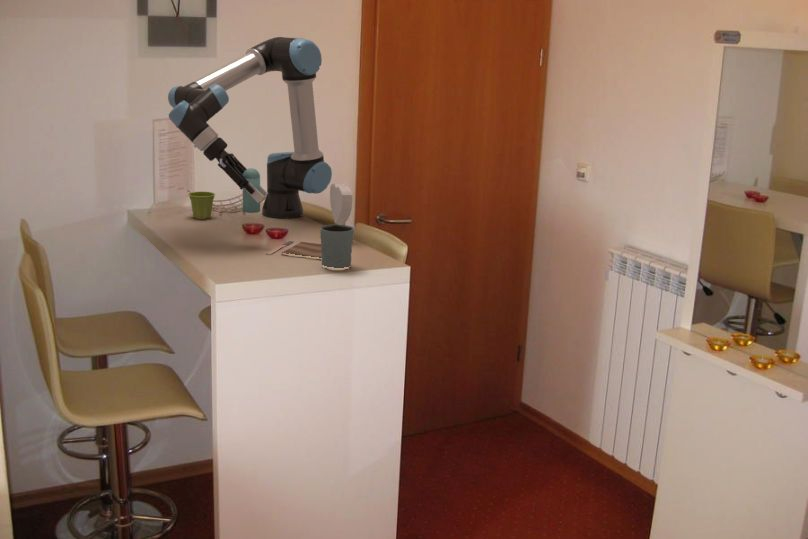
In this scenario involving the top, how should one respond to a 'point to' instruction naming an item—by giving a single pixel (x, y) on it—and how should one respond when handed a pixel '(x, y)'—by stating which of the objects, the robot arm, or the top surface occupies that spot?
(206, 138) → the robot arm
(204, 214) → the plant pot
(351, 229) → the grey textured cup
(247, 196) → the teal domed cylinder
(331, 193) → the heart sculpture
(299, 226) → the top surface
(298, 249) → the board
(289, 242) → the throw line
